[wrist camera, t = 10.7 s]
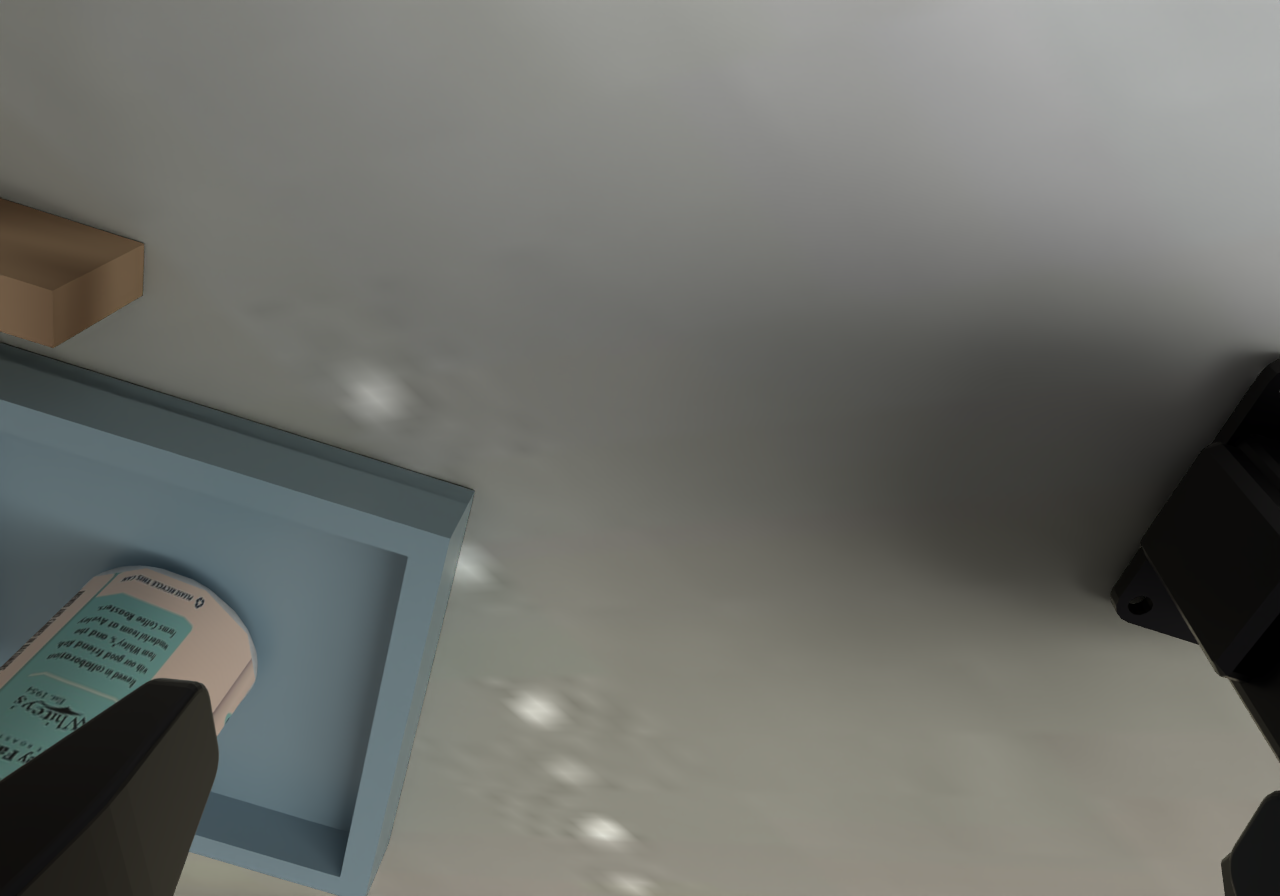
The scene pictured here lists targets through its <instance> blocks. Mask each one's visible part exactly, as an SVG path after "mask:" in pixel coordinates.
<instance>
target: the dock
mask: <svg viewBox="0 0 1280 896" xmlns="http://www.w3.org/2000/svg"><path fill="white" fill-rule="evenodd" d="M143 270H144V244H143V243H140V242H137V241H134V240H131V239H127V238H124V237H121V236H118V235H115V234H112V233H109V232H105V231H102V230H99V229H96V228H93V227H90V226H86V225H83V224H80V223H77V222H74V221H71V220H68V219H64V218H61V217H58V216H55V215H52V214H49V213H46V212H42V211H39V210H36V209H33V208H30V207H27V206H24V205H20V204H17V203H14V202H11V201H8V200H5V199H2V198H0V332H3V333H7V334H10V335H13V336H16V337H19V338H23V339H26V340H29V341H32V342H35V343H39V344H42V345H45V346H48V347H51V348H54V347H56V346H58V345H60V344H61V343H63V342H65V341H66V340H68V339H70V338H71V337H73V336H75V335H76V334H78V333H80V332H82V331H83V330H85V329H87V328H88V327H90V326H92V325H93V324H95V323H97V322H98V321H100V320H102V319H103V318H105V317H107V316H109V315H110V314H112V313H114V312H115V311H117V310H119V309H120V308H122V307H124V306H125V305H127V304H129V303H130V302H132V301H134V300H136V299H137V298H139V297H141V296H142V295H143Z"/></svg>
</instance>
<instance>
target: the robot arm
mask: <svg viewBox="0 0 1280 896" xmlns="http://www.w3.org/2000/svg"><path fill="white" fill-rule="evenodd" d="M1279 390H1280V359H1278V360H1276V361H1275V362H1273V363H1271V364H1269V365H1268V366H1267V367H1266V368H1265V369H1264V370H1263V371H1262V372H1261V373H1260V374H1259V376H1258V377H1257V379H1256V380H1255V381H1254V383H1253V384H1252V386H1251V387H1250V389H1249V390H1248V392H1247V393H1246V395H1245V396H1244V398H1243V399H1242V400H1241V402H1240V403H1239V405H1238V406H1237V408H1236V409H1235V411H1234V412H1233V414H1232V415H1231V417H1230V418H1229V419H1228V421H1227V422H1226V424H1225V425H1224V427H1223V428H1222V430H1221V431H1220V433H1219V434H1218V436H1217V437H1216V438H1215V440H1214V441H1213V443H1212V444H1211V445H1209V446H1208V447H1206V448H1204V449H1203V450H1202V451H1201V453H1200V454H1199V456H1198V457H1197V459H1196V460H1195V462H1194V463H1193V465H1192V466H1191V468H1190V469H1189V470H1188V472H1187V473H1186V475H1185V476H1184V478H1183V479H1182V481H1181V482H1180V484H1179V485H1178V487H1177V488H1176V490H1175V491H1174V492H1173V494H1172V495H1171V497H1170V498H1169V500H1168V501H1167V503H1166V504H1165V506H1164V507H1163V509H1162V510H1161V512H1160V513H1159V514H1158V516H1157V517H1156V519H1155V520H1154V522H1153V523H1152V525H1151V526H1150V528H1149V529H1148V531H1147V532H1146V534H1145V535H1144V536H1143V538H1142V540H1141V545H1142V547H1141V548H1140V549H1139V551H1138V552H1137V554H1136V555H1135V557H1134V558H1133V560H1132V561H1131V563H1130V564H1129V566H1128V567H1127V568H1126V570H1125V571H1124V573H1123V574H1122V576H1121V577H1120V579H1119V580H1118V582H1117V583H1116V585H1115V586H1114V587H1113V590H1112V592H1111V602H1112V604H1113V606H1114V608H1115V610H1116V612H1117V614H1118V615H1119V616H1120V618H1121V619H1123V620H1125V621H1127V622H1128V623H1132V624H1135V625H1138V626H1141V627H1144V628H1148V629H1151V630H1154V631H1157V632H1160V633H1163V634H1167V635H1170V636H1173V637H1176V638H1179V639H1182V640H1186V641H1189V642H1192V643H1195V644H1198V645H1200V647H1201V649H1202V650H1203V652H1204V654H1205V655H1206V657H1207V659H1208V660H1209V662H1210V664H1211V665H1212V667H1213V669H1214V670H1215V672H1216V673H1217V674H1218V675H1220V676H1221V677H1225V678H1228V679H1229V681H1230V682H1231V684H1232V686H1233V687H1234V689H1235V691H1236V692H1237V694H1238V696H1239V697H1240V699H1241V700H1242V702H1243V704H1244V705H1245V707H1246V709H1247V710H1248V712H1249V714H1250V715H1251V717H1252V718H1253V720H1254V722H1255V723H1256V725H1257V727H1258V728H1259V730H1260V731H1261V733H1262V735H1263V736H1264V738H1265V740H1266V741H1267V743H1268V745H1269V746H1270V748H1271V749H1272V751H1273V753H1274V754H1275V756H1276V758H1277V759H1278V761H1279V762H1280V393H1279ZM1139 596H1146V597H1145V599H1143V600H1142V601H1141V602H1139V603H1135V604H1131V603H1129V602H1130V601H1131V600H1132V599H1133V598H1136V597H1139ZM218 762H219V747H218V741H217V735H216V729H215V724H214V718H213V712H212V706H211V700H210V695H209V692H208V689H207V688H206V687H205V685H204V684H202V683H199V682H197V681H188V680H179V679H169V678H156V679H153V680H150V681H148V682H146V683H144V684H143V685H141V686H140V687H138V688H137V689H135V690H134V691H132V692H131V693H129V694H128V695H126V696H125V697H123V698H122V699H120V700H119V701H117V702H116V703H114V704H113V705H111V706H110V707H108V708H107V709H105V710H104V711H103V712H101V713H100V714H98V715H97V716H95V717H94V718H92V719H91V720H89V721H88V722H86V723H85V724H83V725H82V726H80V727H79V728H77V729H76V730H74V731H73V732H71V733H70V734H68V735H67V736H65V737H64V738H62V739H61V740H60V741H58V742H57V743H55V744H54V745H52V746H51V747H49V748H48V749H46V750H45V751H43V752H42V753H40V754H39V755H37V756H36V757H34V758H33V759H31V760H30V761H28V762H27V763H25V764H24V765H22V766H21V767H19V768H18V769H17V770H15V771H14V772H12V773H11V774H9V775H8V776H6V777H5V778H3V779H2V780H0V896H173V895H174V892H175V889H176V886H177V884H178V881H179V878H180V875H181V872H182V870H183V867H184V864H185V861H186V859H187V856H188V853H189V850H190V847H191V845H192V842H193V839H194V836H195V833H196V831H197V828H198V825H199V822H200V820H201V817H202V814H203V811H204V808H205V806H206V803H207V800H208V797H209V794H210V792H211V789H212V786H213V783H214V780H215V777H216V773H217V769H218ZM1221 867H1222V875H1223V883H1224V891H1225V896H1280V791H1274V792H1272V793H1271V794H1269V795H1267V796H1266V797H1265V798H1264V800H1263V801H1262V802H1261V804H1260V806H1259V807H1258V809H1257V810H1256V812H1255V814H1254V815H1253V817H1252V818H1251V820H1250V822H1249V823H1248V825H1247V826H1246V828H1245V829H1244V831H1243V833H1242V834H1241V836H1240V837H1239V839H1238V841H1237V842H1236V844H1235V845H1234V847H1233V849H1232V852H1231V853H1230V854H1228V855H1227V856H1226V857H1225V858H1224V859H1223V860H1222V862H1221Z"/></svg>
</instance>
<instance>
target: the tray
mask: <svg viewBox="0 0 1280 896" xmlns="http://www.w3.org/2000/svg"><path fill="white" fill-rule="evenodd" d="M474 493H475V491H474V490H470V489H467V488H464V487H461V486H458V485H454V484H451V483H448V482H445V481H442V480H438V479H435V478H432V477H429V476H426V475H422V474H419V473H416V472H413V471H410V470H406V469H403V468H400V467H397V466H394V465H390V464H387V463H384V462H381V461H378V460H374V459H371V458H368V457H365V456H361V455H358V454H355V453H352V452H349V451H345V450H342V449H339V448H336V447H333V446H329V445H326V444H323V443H320V442H317V441H313V440H310V439H307V438H304V437H301V436H297V435H294V434H291V433H288V432H285V431H281V430H278V429H275V428H272V427H269V426H265V425H262V424H259V423H256V422H253V421H249V420H246V419H243V418H240V417H236V416H233V415H230V414H227V413H224V412H220V411H217V410H214V409H211V408H208V407H204V406H201V405H198V404H195V403H192V402H188V401H185V400H182V399H179V398H176V397H172V396H169V395H166V394H163V393H160V392H156V391H153V390H150V389H147V388H144V387H140V386H137V385H134V384H131V383H128V382H124V381H121V380H118V379H115V378H111V377H108V376H105V375H102V374H99V373H95V372H92V371H89V370H86V369H83V368H79V367H76V366H73V365H70V364H67V363H63V362H60V361H57V360H54V359H51V358H47V357H44V356H41V355H38V354H35V353H31V352H28V351H25V350H22V349H19V348H15V347H12V346H9V345H6V344H3V343H0V667H1V666H2V665H3V664H4V663H5V662H6V661H8V660H9V659H10V658H11V657H12V656H13V655H14V654H15V653H16V652H17V651H18V650H19V649H20V648H21V647H22V646H23V645H24V644H25V643H26V642H27V641H28V640H29V639H30V638H31V637H32V636H33V635H34V634H36V633H37V632H38V631H39V630H40V629H41V628H42V627H43V626H44V625H45V624H46V623H47V622H48V621H49V620H50V619H51V618H52V617H53V616H54V615H55V614H56V613H57V612H58V611H59V610H60V609H61V608H62V607H63V606H65V605H66V604H67V603H68V602H69V601H70V600H71V599H72V598H73V597H74V596H75V595H76V594H77V593H78V592H79V591H80V590H81V589H82V587H83V586H84V585H85V584H86V583H87V582H88V581H89V580H90V579H92V578H93V577H95V576H96V575H98V574H100V573H102V572H104V571H108V570H111V569H115V568H118V567H123V566H139V565H140V566H150V567H156V568H161V569H165V570H167V571H170V572H173V573H176V574H179V575H182V576H184V577H187V578H190V579H193V580H195V581H197V582H198V583H200V584H202V585H204V586H205V587H207V588H209V589H210V590H211V591H212V592H214V593H215V594H216V595H217V596H218V597H219V598H220V599H222V600H223V601H224V602H225V603H226V604H227V605H228V606H229V607H231V608H232V609H233V610H234V611H235V612H236V614H237V615H238V616H239V618H240V619H241V621H242V622H243V623H244V625H245V626H246V628H247V629H248V631H249V633H250V636H251V639H252V641H253V644H254V646H255V649H256V652H257V661H258V665H257V677H256V680H255V683H254V685H253V687H252V689H251V690H250V692H249V693H248V694H247V696H246V697H245V698H244V700H243V701H241V702H240V703H239V705H238V706H237V708H236V709H235V711H234V712H233V714H232V715H231V717H230V718H229V720H228V721H227V723H226V724H225V725H224V727H223V728H222V730H221V731H220V733H219V734H218V736H217V741H218V747H219V762H218V769H217V773H216V777H215V780H214V783H213V786H212V789H211V792H210V794H209V797H208V800H207V803H206V806H205V808H204V811H203V814H202V817H201V820H200V822H199V825H198V828H197V831H196V833H195V836H194V839H193V842H192V845H191V847H190V850H189V852H192V853H195V854H199V855H202V856H206V857H209V858H212V859H216V860H219V861H223V862H226V863H229V864H233V865H236V866H240V867H243V868H246V869H250V870H253V871H257V872H260V873H263V874H267V875H270V876H274V877H277V878H280V879H284V880H287V881H291V882H294V883H297V884H301V885H304V886H308V887H311V888H314V889H318V890H321V891H325V892H328V893H331V894H335V895H338V896H367V895H368V892H369V890H370V887H371V885H372V882H373V880H374V878H375V875H376V873H377V870H378V868H379V865H380V863H381V861H382V858H383V856H384V853H385V851H386V848H387V846H388V844H389V840H390V836H391V831H392V827H393V823H394V819H395V815H396V811H397V807H398V803H399V799H400V795H401V791H402V787H403V782H404V778H405V774H406V770H407V766H408V762H409V758H410V754H411V750H412V746H413V742H414V738H415V734H416V729H417V725H418V721H419V717H420V713H421V709H422V705H423V701H424V697H425V693H426V689H427V685H428V680H429V676H430V672H431V668H432V664H433V660H434V656H435V652H436V648H437V644H438V640H439V636H440V632H441V627H442V623H443V619H444V615H445V611H446V607H447V603H448V599H449V595H450V591H451V587H452V583H453V578H454V574H455V570H456V566H457V562H458V558H459V554H460V550H461V546H462V542H463V538H464V534H465V530H466V525H467V521H468V517H469V513H470V509H471V505H472V501H473V497H474Z"/></svg>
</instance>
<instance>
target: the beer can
mask: <svg viewBox="0 0 1280 896" xmlns="http://www.w3.org/2000/svg"><path fill="white" fill-rule="evenodd" d="M257 665H258V661H257V652H256V649H255V646H254V644H253V641H252V639H251V636H250V633H249V631H248V629H247V628H246V626H245V625H244V623H243V622H242V621H241V619H240V618H239V616H238V615H237V614H236V612H235V611H234V610H233V609H232V608H231V607H229V606H228V605H227V604H226V603H225V602H224V601H223V600H222V599H220V598H219V597H218V596H217V595H216V594H215V593H214V592H212V591H211V590H210V589H209V588H207V587H205V586H204V585H202V584H200V583H198V582H197V581H195V580H193V579H190V578H187V577H184V576H182V575H179V574H176V573H173V572H170V571H167V570H165V569H161V568H156V567H150V566H140V565H139V566H123V567H118V568H115V569H111V570H108V571H104V572H102V573H100V574H98V575H96V576H95V577H93V578H92V579H90V580H89V581H88V582H87V583H86V584H85V585H84V586H83V587H82V589H81V590H80V591H79V592H78V593H77V594H76V595H75V596H74V597H73V598H72V599H71V600H70V601H69V602H68V603H67V604H66V605H65V606H63V607H62V608H61V609H60V610H59V611H58V612H57V613H56V614H55V615H54V616H53V617H52V618H51V619H50V620H49V621H48V622H47V623H46V624H45V625H44V626H43V627H42V628H41V629H40V630H39V631H38V632H37V633H36V634H34V635H33V636H32V637H31V638H30V639H29V640H28V641H27V642H26V643H25V644H24V645H23V646H22V647H21V648H20V649H19V650H18V651H17V652H16V653H15V654H14V655H13V656H12V657H11V658H10V659H9V660H8V661H6V662H5V663H4V664H3V665H2V666H1V667H0V780H2V779H3V778H5V777H6V776H8V775H9V774H11V773H12V772H14V771H15V770H17V769H18V768H19V767H21V766H22V765H24V764H25V763H27V762H28V761H30V760H31V759H33V758H34V757H36V756H37V755H39V754H40V753H42V752H43V751H45V750H46V749H48V748H49V747H51V746H52V745H54V744H55V743H57V742H58V741H60V740H61V739H62V738H64V737H65V736H67V735H68V734H70V733H71V732H73V731H74V730H76V729H77V728H79V727H80V726H82V725H83V724H85V723H86V722H88V721H89V720H91V719H92V718H94V717H95V716H97V715H98V714H100V713H101V712H103V711H104V710H105V709H107V708H108V707H110V706H111V705H113V704H114V703H116V702H117V701H119V700H120V699H122V698H123V697H125V696H126V695H128V694H129V693H131V692H132V691H134V690H135V689H137V688H138V687H140V686H141V685H143V684H144V683H146V682H148V681H150V680H153V679H156V678H169V679H179V680H188V681H197V682H199V683H202V684H204V685H205V687H206V688H207V689H208V692H209V695H210V700H211V706H212V712H213V718H214V724H215V729H216V735H217V736H218V734H219V733H220V731H221V730H222V728H223V727H224V725H225V724H226V723H227V721H228V720H229V718H230V717H231V715H232V714H233V712H234V711H235V709H236V708H237V706H238V705H239V703H240V702H241V701H243V700H244V698H245V697H246V696H247V694H248V693H249V692H250V690H251V689H252V687H253V685H254V683H255V680H256V677H257Z"/></svg>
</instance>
